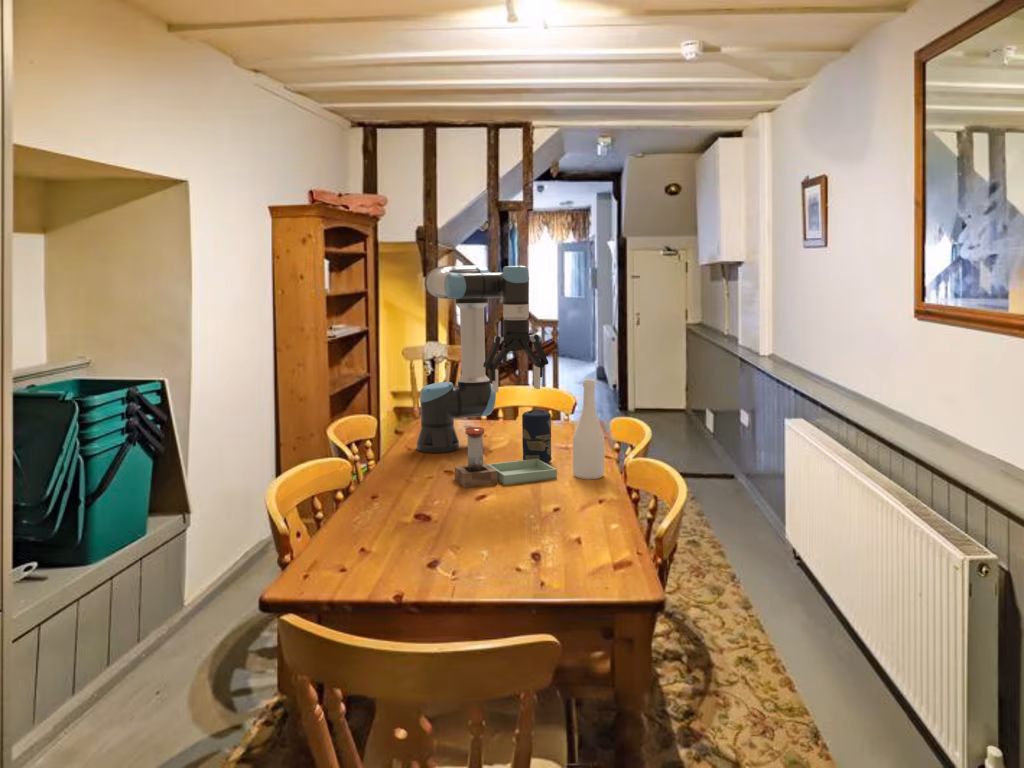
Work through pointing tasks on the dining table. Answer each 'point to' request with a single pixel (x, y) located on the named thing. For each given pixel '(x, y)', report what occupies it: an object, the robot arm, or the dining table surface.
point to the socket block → (475, 476)
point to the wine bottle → (588, 439)
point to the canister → (536, 435)
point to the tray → (523, 471)
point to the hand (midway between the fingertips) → (516, 390)
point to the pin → (475, 448)
